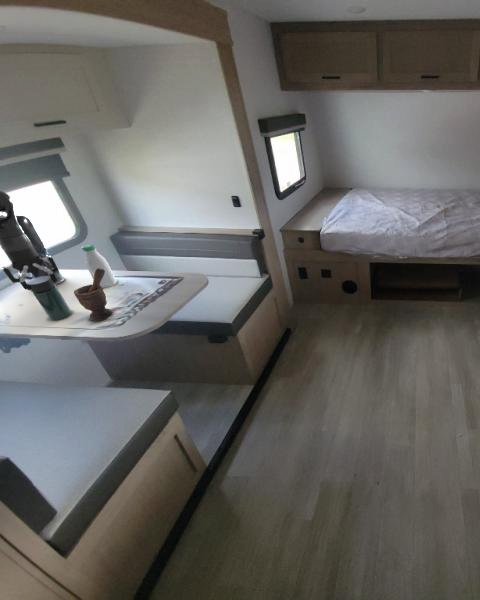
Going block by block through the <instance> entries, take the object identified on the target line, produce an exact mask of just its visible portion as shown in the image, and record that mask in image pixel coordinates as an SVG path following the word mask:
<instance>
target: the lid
mask: <svg viewBox="0 0 480 600" xmlns="http://www.w3.org/2000/svg"><path fill="white" fill-rule="evenodd" d="M26 283H27V284H28V286H29V287H30V289H31V290H30V291H31V293H32V292H41V291H46V290H49V289H51V288H53V287H54V286H56V285H55V284H54V282H53V281H52V279H51V277H49V276H42V277H37V278H30V279H29V280H27V281H26Z"/></svg>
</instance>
